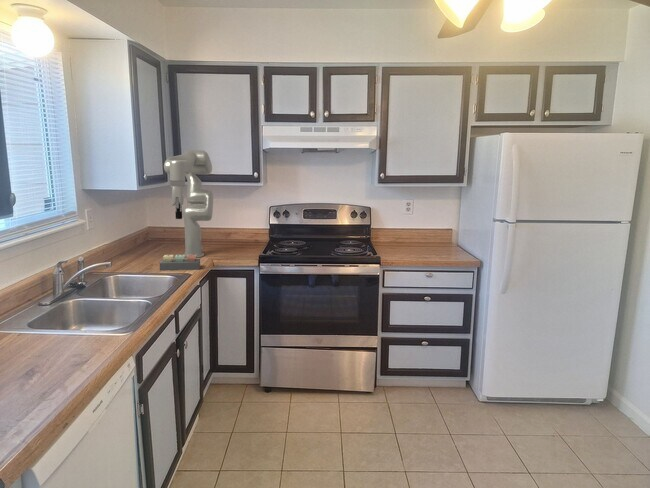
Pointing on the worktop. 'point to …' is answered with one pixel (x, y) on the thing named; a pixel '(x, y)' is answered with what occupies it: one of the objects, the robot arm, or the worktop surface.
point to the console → (180, 265)
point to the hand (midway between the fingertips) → (179, 218)
